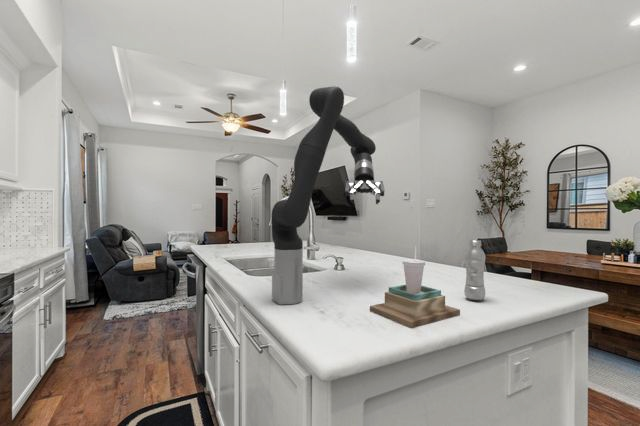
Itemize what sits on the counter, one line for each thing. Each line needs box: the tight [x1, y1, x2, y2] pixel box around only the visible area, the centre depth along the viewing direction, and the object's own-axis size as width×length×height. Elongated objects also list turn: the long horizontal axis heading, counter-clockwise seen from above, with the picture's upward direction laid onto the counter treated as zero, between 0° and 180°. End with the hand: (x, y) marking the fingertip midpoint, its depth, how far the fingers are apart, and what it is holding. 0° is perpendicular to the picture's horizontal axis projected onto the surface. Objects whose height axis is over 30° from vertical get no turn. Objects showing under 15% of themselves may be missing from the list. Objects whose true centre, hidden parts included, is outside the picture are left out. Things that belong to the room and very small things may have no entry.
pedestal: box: [369, 284, 461, 329], centre depth 94 cm, size 20×16×7 cm
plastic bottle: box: [464, 239, 487, 301], centre depth 108 cm, size 6×7×20 cm
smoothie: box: [402, 245, 426, 294], centre depth 94 cm, size 6×6×14 cm
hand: (365, 202), depth 114 cm, fingers open, 8 cm apart
